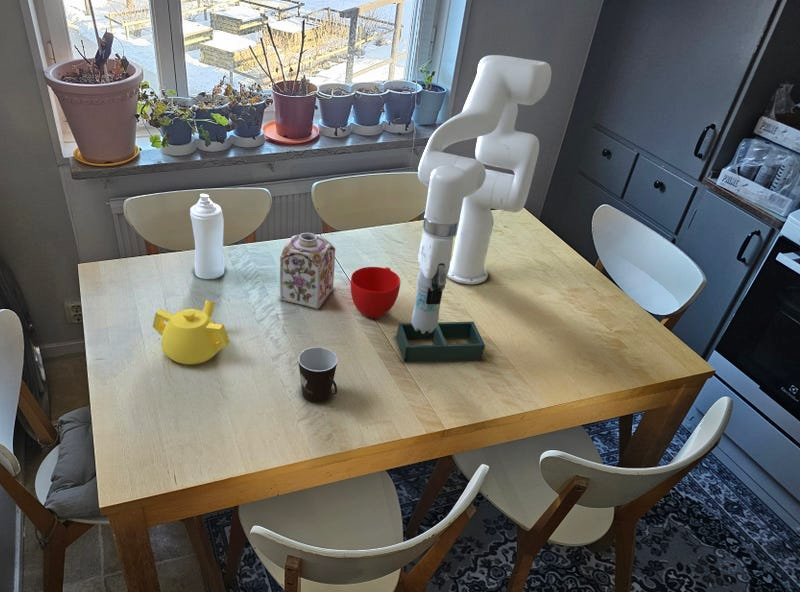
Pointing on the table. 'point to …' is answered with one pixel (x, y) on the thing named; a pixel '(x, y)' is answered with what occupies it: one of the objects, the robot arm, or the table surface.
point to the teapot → (190, 334)
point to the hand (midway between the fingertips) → (429, 294)
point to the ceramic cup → (374, 290)
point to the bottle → (425, 306)
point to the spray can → (208, 238)
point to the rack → (441, 342)
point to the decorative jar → (307, 270)
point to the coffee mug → (317, 373)
